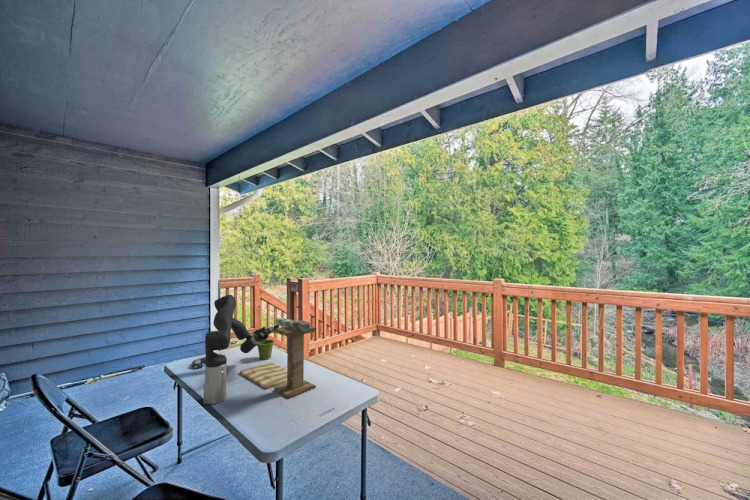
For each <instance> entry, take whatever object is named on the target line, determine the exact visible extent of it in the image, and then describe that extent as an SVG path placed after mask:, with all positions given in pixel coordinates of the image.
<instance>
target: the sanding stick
mask: <svg viewBox="0 0 750 500" xmlns="http://www.w3.org/2000/svg"><path fill="white" fill-rule="evenodd" d="M275 325H279V326H281V327H288V328H291V329H293V330H297V331H300V332H304V331H308V330H310V326H311V322H309V321H305V320H293V319H290V318H285V317H279V318H275Z"/></svg>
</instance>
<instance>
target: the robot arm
mask: <svg viewBox="0 0 750 500" xmlns="http://www.w3.org/2000/svg"><path fill="white" fill-rule="evenodd" d="M213 303H214V304H213V305H214V307H215V310H216V311H217V312H216V313H215V315H214V318H213V326H214V328H215V329H216V330H212V331H207V332H206V334H205V337H204V347H205V352H204V353H205V366H204V367H205V371H204V383H203V402H202V403H203V405H204V404H205V405H217V404H218V403H222V402H223V401H225V400H227V367H228V366H227V363H228V362H227V361H228V360H227V356H226V357H225V355H224V356H223V355H219V354H220V353H216V352H215V351H223V350H226V349H228V348H229V346H230V344H231V333H232V332H233V333H234V335H235V336H236V339H237V340H238V341H243V340H244V341H243V342H242V343H241V344H240V347H239V349H240V351H241V353H243V354H249V353H250V352H251V351H252V350H253V349H254V348H255V347H257V345H258V344H260V343H262V342H263V341H264V340H268V339H269V335H271V334H276V333H275V329H276V328H280V325H277V324H275V325H274V326H270V327H266V326H263V327H260V328H258V329H256V330H254V332H253V333H252V334H251V333H250V332H249V331H248V330H247V328H246V325H244V323H243V322H242V321H240V320H238V319H237V318H234V313H235V310H236V306H237V299H235V297H234V295H232V294H226V295H223V296H222V297H219V298H217V299H215V301H214V302H213ZM231 331H232V332H231Z"/></svg>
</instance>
